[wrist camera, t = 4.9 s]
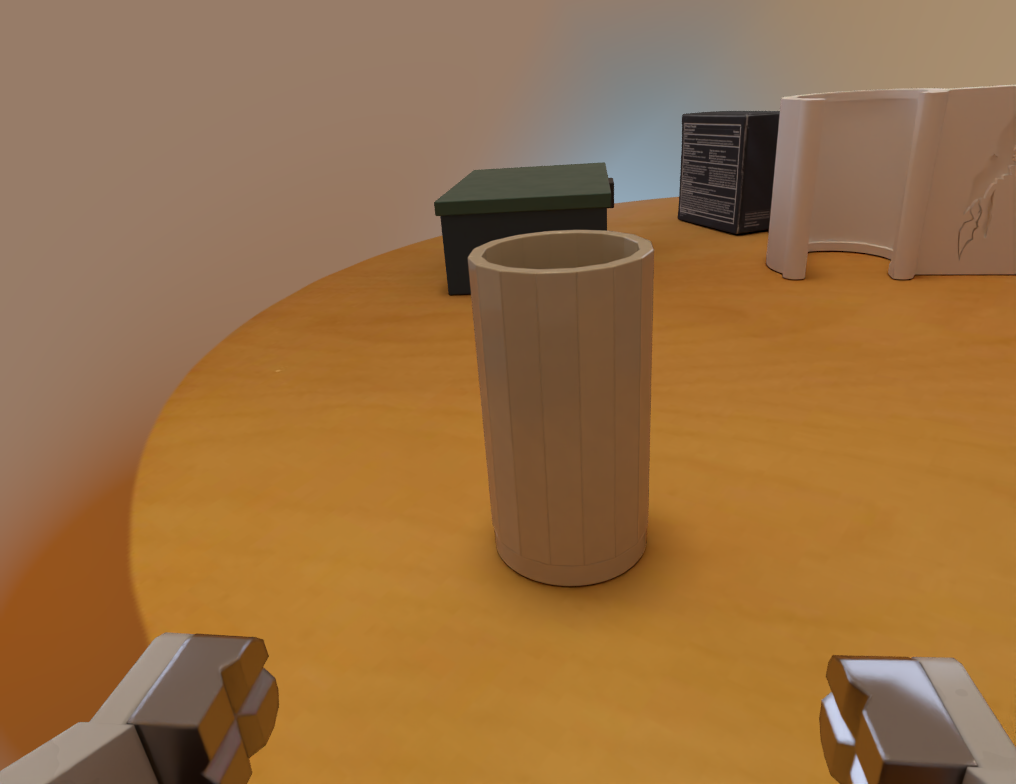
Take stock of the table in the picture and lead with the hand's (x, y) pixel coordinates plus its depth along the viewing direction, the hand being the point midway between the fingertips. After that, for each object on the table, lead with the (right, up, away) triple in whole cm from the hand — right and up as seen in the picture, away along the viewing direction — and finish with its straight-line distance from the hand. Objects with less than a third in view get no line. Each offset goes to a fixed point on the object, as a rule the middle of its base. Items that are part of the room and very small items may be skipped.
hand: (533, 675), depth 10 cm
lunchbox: (+2, +15, +49) cm, 52 cm away
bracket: (+32, +14, +41) cm, 54 cm away
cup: (+2, -1, +14) cm, 14 cm away
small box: (+22, +21, +59) cm, 66 cm away
